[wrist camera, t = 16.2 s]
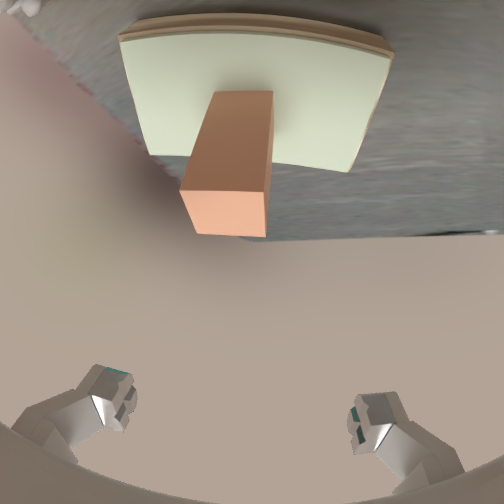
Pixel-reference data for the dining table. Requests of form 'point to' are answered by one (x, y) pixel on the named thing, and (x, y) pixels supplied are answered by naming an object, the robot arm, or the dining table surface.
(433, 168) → the dining table surface
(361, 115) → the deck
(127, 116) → the dining table surface
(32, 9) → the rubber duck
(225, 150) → the terracotta block
